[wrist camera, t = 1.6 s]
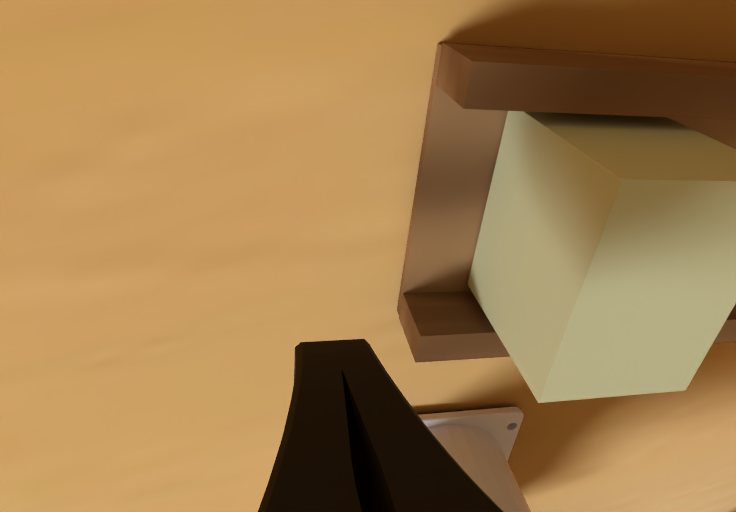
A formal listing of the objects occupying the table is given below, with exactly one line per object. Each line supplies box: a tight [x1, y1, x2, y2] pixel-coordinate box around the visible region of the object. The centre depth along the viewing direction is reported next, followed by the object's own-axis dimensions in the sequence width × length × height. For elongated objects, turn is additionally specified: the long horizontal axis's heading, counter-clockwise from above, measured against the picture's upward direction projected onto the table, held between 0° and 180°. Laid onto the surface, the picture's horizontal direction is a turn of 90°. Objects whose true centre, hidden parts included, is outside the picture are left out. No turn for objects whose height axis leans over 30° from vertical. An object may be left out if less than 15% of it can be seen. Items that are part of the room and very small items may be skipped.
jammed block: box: [468, 111, 736, 403], centre depth 16 cm, size 7×5×6 cm
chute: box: [397, 43, 736, 362], centre depth 19 cm, size 10×19×3 cm, turn 85°
